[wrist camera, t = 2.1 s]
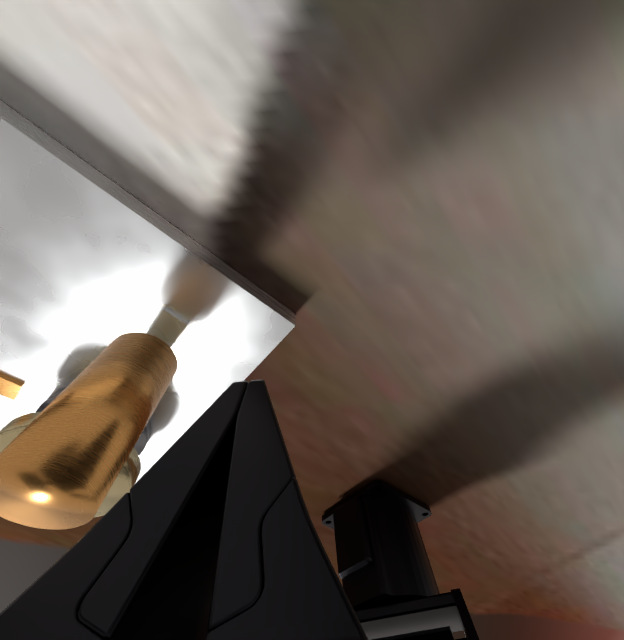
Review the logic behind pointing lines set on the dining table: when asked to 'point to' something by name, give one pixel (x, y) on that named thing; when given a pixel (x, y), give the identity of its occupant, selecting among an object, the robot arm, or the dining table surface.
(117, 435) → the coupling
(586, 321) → the dining table surface
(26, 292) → the base
